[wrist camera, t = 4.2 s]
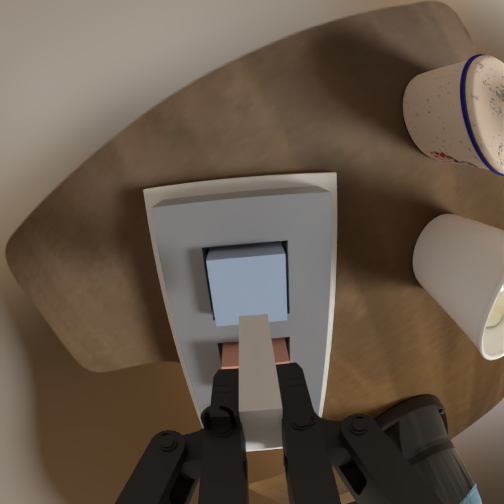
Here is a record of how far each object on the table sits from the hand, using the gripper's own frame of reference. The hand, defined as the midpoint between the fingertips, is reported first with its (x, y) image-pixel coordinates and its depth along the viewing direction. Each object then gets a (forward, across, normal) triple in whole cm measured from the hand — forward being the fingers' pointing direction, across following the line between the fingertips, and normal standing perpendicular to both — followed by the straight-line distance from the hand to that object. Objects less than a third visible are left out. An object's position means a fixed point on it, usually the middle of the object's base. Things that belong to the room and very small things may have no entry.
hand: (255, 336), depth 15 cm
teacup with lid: (+10, -20, -14) cm, 26 cm away
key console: (+10, 0, +7) cm, 12 cm away
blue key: (+7, 0, -1) cm, 7 cm away
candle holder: (+10, -20, 0) cm, 22 cm away
